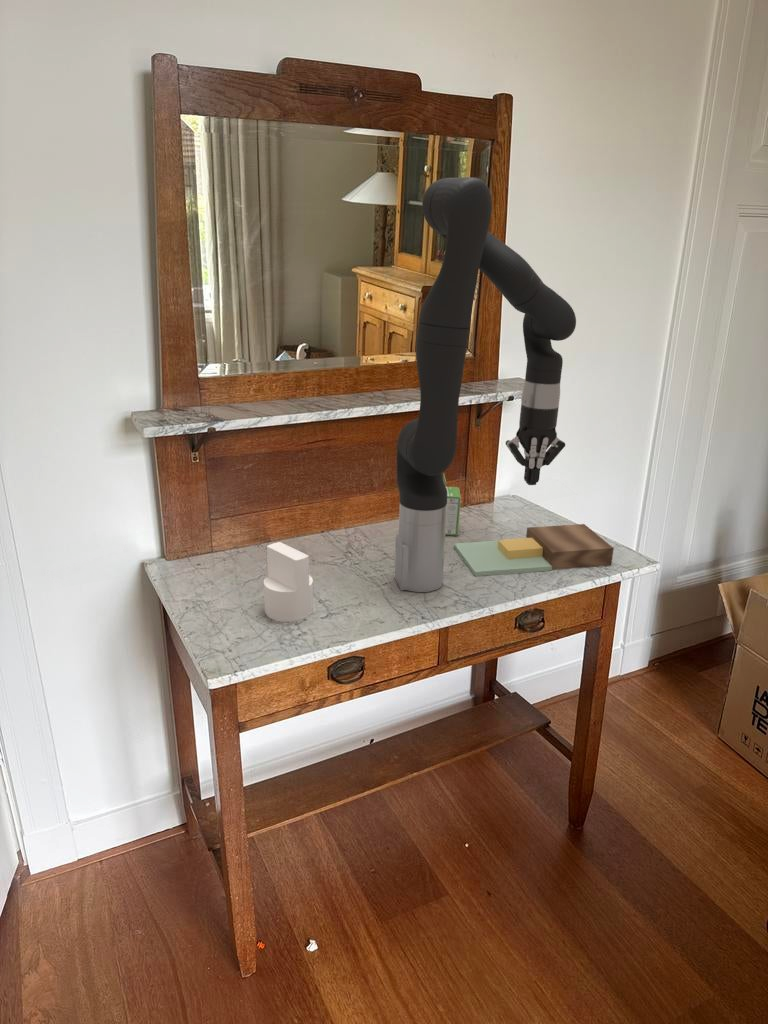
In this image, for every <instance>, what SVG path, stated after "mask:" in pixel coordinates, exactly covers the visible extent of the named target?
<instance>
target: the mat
mask: <svg viewBox="0 0 768 1024" xmlns="http://www.w3.org/2000/svg"><path fill="white" fill-rule="evenodd" d="M454 548H455V549H454ZM453 549H454V550H455V551H456V553H457V552H458V553H457V554H458V556H459V557H460V558H461V559H462V561H463V562H464V564H465V565H466V566H467V568H468V569H469V570H470V572H471V574H472V575H475V576H474V577H483V576H482V575H486V576H497V574H498V575H499V576H500V575H507V574H508V575H510V574H522V573H536V572H550V571H552V570H553V569H552V566H551V565H550V564H549V563H548V562H547V561H546V560H545V559H544V558H543V557H531V558H518V559H507V558H506V557H505V556H504V555H503V554H502V553H501V551H500V550H499V549H498V540H489V541H474V542H473V541H472V542H470V541H469V542H460V543H459V542H457V543H453Z"/></svg>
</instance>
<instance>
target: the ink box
mask: <svg viewBox="0 0 768 1024" xmlns="http://www.w3.org/2000/svg"><path fill="white" fill-rule="evenodd" d="M442 478H443V482H444V484H445V487H446V489H447V513H446V531H445V536H449V535H450V536H451V537H458V536H459V525H460V516H461V515H460V514H461V500H462V496H461V494H460V493H461V492H460V487H457V486H447V480H446V475H445V472H443V473H442ZM450 536H449V537H450Z"/></svg>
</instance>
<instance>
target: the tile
mask: <svg viewBox="0 0 768 1024" xmlns="http://www.w3.org/2000/svg"><path fill="white" fill-rule="evenodd" d="M497 541H498V549H499V550H500V551H501V553H502V554H503V555H504V556H505V557H506V558H507V559H518V558H531V557H542V555H543V548H542V547H541V546H540V545H539V544H538V543H537V542H536V541H535V540H534V539H533V538H526V537H521V538H520V537H519V538H507V539H505V538H504V539H498V540H497Z"/></svg>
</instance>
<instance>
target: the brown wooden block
mask: <svg viewBox="0 0 768 1024" xmlns="http://www.w3.org/2000/svg"><path fill="white" fill-rule="evenodd" d="M525 538H533V539H534V540H535V541H536V542H537V543H538V544H539V545H540V546H541V547H542V548H543V555H542V557H543V558H544V559H545V560H546V561H547V562H548V563H549V564H550V565H551V566H552V570H563V569H575V568H576V569H577V568H589V567H602V566H611V565H612V562H613V555H614V547H613V546H612V545H610V543H608V542H607V541H606V540H604V539H603V538H602V537H601V536H600V535H598V534H597V533H596V532H595V531H593V530H592V528H590V527H589V526H587V525H586V524H585V523H580V524H579V523H578V524H566V525H564V524H563V525H561V524H560V525H551V526H550V525H549V526H545V525H544V526H532V527H529V526H528V527H527V528H526V535H525Z"/></svg>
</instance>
